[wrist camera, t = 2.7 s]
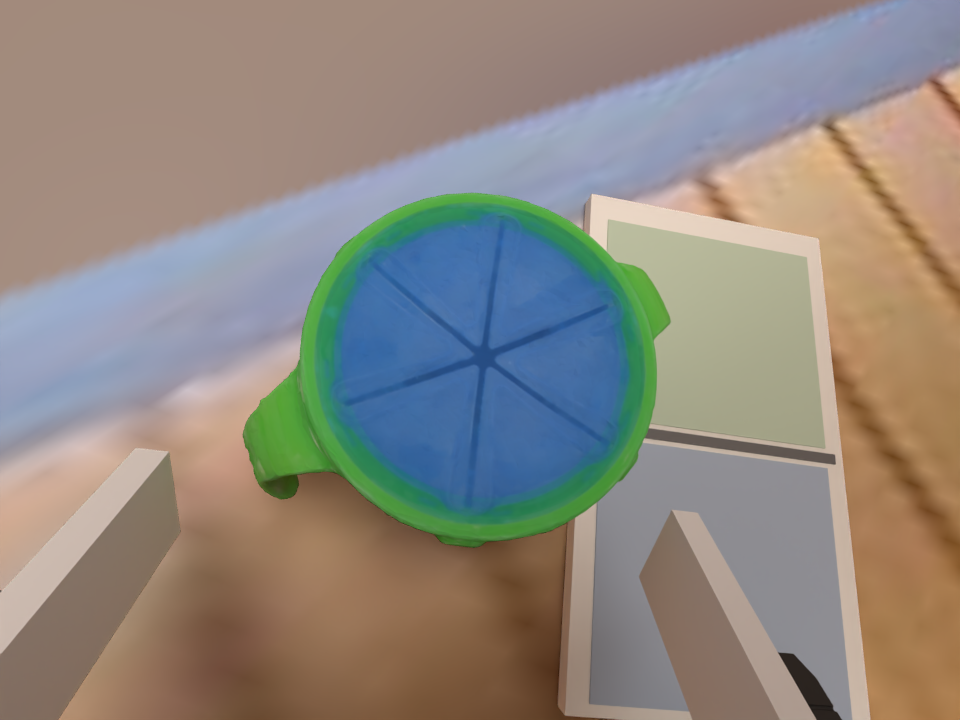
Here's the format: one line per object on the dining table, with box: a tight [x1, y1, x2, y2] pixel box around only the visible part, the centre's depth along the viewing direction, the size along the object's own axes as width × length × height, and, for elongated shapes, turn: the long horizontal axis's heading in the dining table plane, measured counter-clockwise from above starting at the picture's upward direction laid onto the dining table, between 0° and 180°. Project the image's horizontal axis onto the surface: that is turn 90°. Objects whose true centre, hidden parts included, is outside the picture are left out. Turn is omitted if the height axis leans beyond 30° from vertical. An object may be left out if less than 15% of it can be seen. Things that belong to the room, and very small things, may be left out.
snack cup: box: [243, 193, 671, 548], centre depth 19 cm, size 16×10×10 cm
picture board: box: [558, 194, 871, 720], centre depth 25 cm, size 14×25×1 cm, turn 174°
